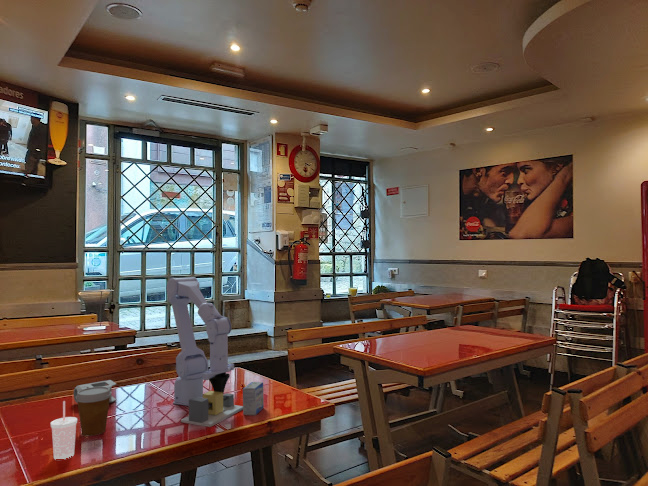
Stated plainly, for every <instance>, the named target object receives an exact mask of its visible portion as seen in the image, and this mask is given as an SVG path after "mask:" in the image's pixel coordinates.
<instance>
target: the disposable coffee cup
mask: <svg viewBox="0 0 648 486" xmlns="http://www.w3.org/2000/svg"><path fill="white" fill-rule="evenodd" d="M112 393H113V391H112V392H110V388H108V387H91V388H86V389H83V390H80V391H78V393H77V396H76V400H77V402H78V403H77V402H76V403H77V409H78V416H79V422H80V431H81V435H82V436H86V437H91V436H92V435H93V436H97V435H101V434H103V433H105V432H106V430H107V421H108V413H109V405H110V403H109V400H110V396H111V394H112Z"/></svg>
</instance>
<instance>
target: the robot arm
mask: <svg viewBox="0 0 648 486" xmlns="http://www.w3.org/2000/svg"><path fill="white" fill-rule="evenodd" d="M165 289H166V293H167V299H168V302H169V303H170V304H171V307H172V312H173V316H174V321H175V326H176V330H177V335H178V340H179V345H180V349H181V351H179V353H178V354H177V356H176V357H175V364H176V365H175V371H176V374H177V376H178V377H176V379H175V382H174V387H173V390H174V392H173V393H174V394H173V395H174V396H173V397H174V400H173V402H172V404H173V405H181V406H188V407H189V399H192V398H194V397H199V398H203V394H204V381H209V382H210V384H211V386H212V390H213V391H216V392H223V395H224V394H225V389H226V386H227V383H228V380H229V379H230V375H231V374H230V373H229V372H231V371H234V370H235V364H234V363H229V360H228V359H229V353H228V352H229V351H228V348H229V345H228V344H229V341H228V339H229V338H228V335H230V333H231V331H232V323H231V320H230V319H229V317H227V316H224V315H221V314H220V312H219V311H218V309H217V308H216V307H215V305H214V304H213V303H212V302H207V301H208V300H206V298H205V296H204V295H203V293H202V292H201V290H200V282H199V280H198V279H197V278H196V277H195V276H191V277H170V278H169V280H168V281H167V284H166V288H165ZM190 302H192V303H193V305H195V306H196V307H197V309H198V310H197V314H198V316H199V317H200V319H201V320H202V321H203V323H204V325H205V326H206V327H205V331H206V333H207V341H208V342H209V361H208V359H207V357H206V355H205V351H204V350H202V349H201V348H199V347H198V346H197V343H196V338H195V334H194V329H193V325H192V321H191V315H190V311H189V308H188V305H189V303H190Z"/></svg>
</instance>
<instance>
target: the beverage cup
mask: <svg viewBox="0 0 648 486" xmlns="http://www.w3.org/2000/svg"><path fill="white" fill-rule="evenodd" d="M77 423H78V417H75V416H66V401H65V400H63V401H62V417H60V418H57V419H54V420H52V421H51V422H50V428H51V433H52V434H51V436H52V451H53V459H54V460H56V459H64V460H67V459H66V458H68V459H70V458H72V457H74V455H75V446H76V434H77V433H76V431H77ZM71 456H72V457H71ZM69 457H70V458H69Z"/></svg>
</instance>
